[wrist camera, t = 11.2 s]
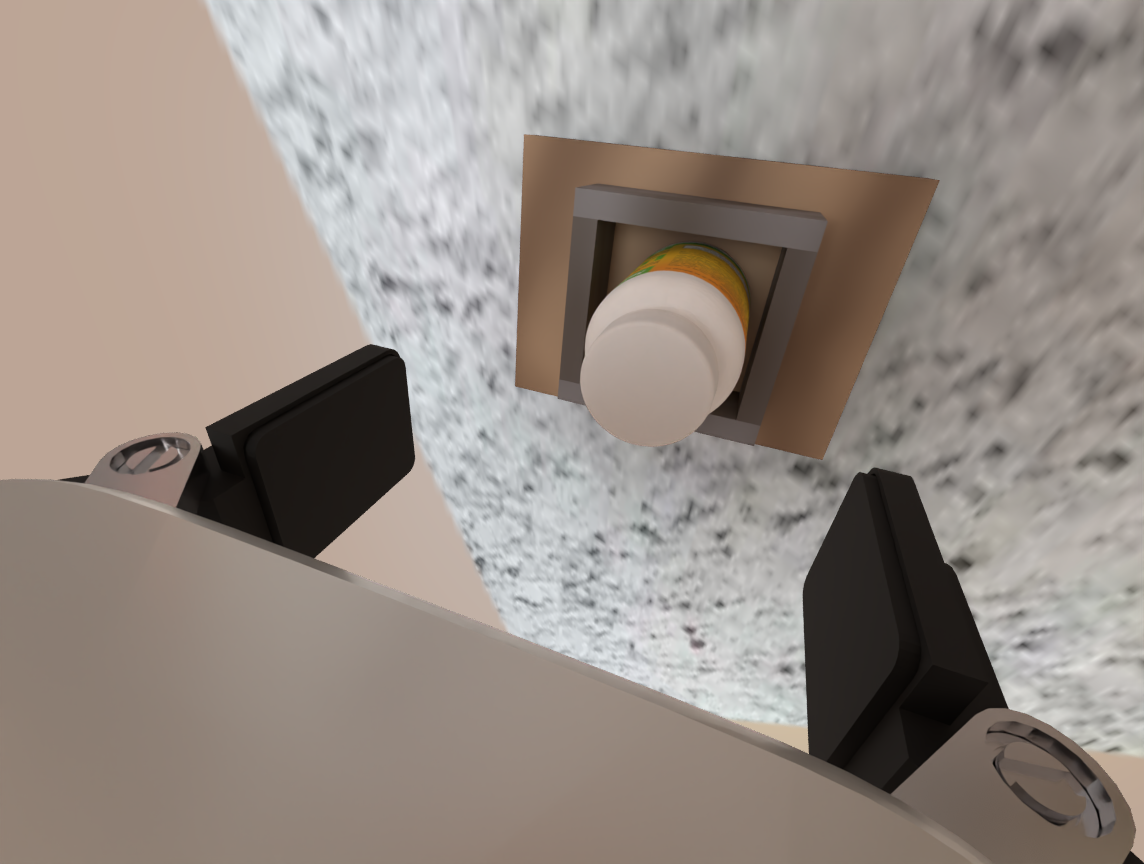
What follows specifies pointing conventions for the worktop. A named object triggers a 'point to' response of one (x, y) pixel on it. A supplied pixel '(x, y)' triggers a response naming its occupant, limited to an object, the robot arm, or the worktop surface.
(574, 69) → the worktop surface
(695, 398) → the supplement bottle
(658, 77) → the worktop surface
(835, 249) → the collar board
